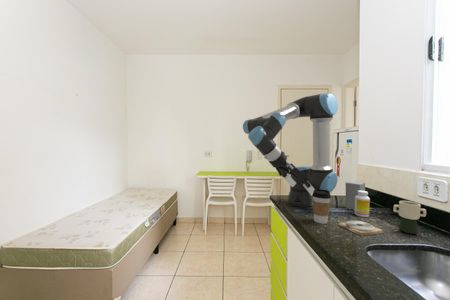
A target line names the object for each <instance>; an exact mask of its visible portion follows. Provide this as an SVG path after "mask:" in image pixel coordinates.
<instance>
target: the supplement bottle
mask: <svg viewBox="0 0 450 300" xmlns="http://www.w3.org/2000/svg"><path fill="white" fill-rule="evenodd" d="M368 195H369V192H368V191H366V190H365V191H361V190H359V191H358V195H356V196H355V210H354V214H355V215H356V216H357V217H361V218H369V216H370V206H371V205H370V203H371V198H370V197H369V196H368Z"/></svg>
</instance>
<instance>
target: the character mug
mask: <svg viewBox="0 0 450 300" xmlns="http://www.w3.org/2000/svg"><path fill="white" fill-rule="evenodd" d="M398 203H399V204H394V205H393V212H394V213H398V215H399V216H400V217H401V218H400V223H399V226H398V229H399V230H400V231H402V232H404V233H407V234H411V235H412V234H413V235H414V234H418V231H419V230H418V222H417V220H419V219H420V217H423V218H424V217H426V216H427V209H425V208H421V206H422V205H421V204H420V203H419V202H415V201H410V200H399V201H398ZM397 208H398V210H397ZM421 212H422V213H421Z"/></svg>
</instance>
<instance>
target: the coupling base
mask: <svg viewBox="0 0 450 300" xmlns="http://www.w3.org/2000/svg"><path fill="white" fill-rule="evenodd" d="M338 226H340V227H342V228H343V229H346V230H347V231H350V232H352V233H354V234H356V235H358V236H360V237H365V236H372V235H378V234H383V233H384V230H383V229H380V228H378V227H377V226H376V227H375V226H374V225H373V224H371V223H368V222H365V221H362V220H347V221H341V222H338Z"/></svg>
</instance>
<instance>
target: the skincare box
mask: <svg viewBox="0 0 450 300" xmlns="http://www.w3.org/2000/svg"><path fill="white" fill-rule="evenodd" d="M359 190H361V191H366V183H365V182H359V181H351V180H349V181H346V182H345V208H346V207H347V208H350V209H349V210H351V209H353V210H352V211H355V196H356V195H358V191H359ZM347 208H346V209H347Z"/></svg>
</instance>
